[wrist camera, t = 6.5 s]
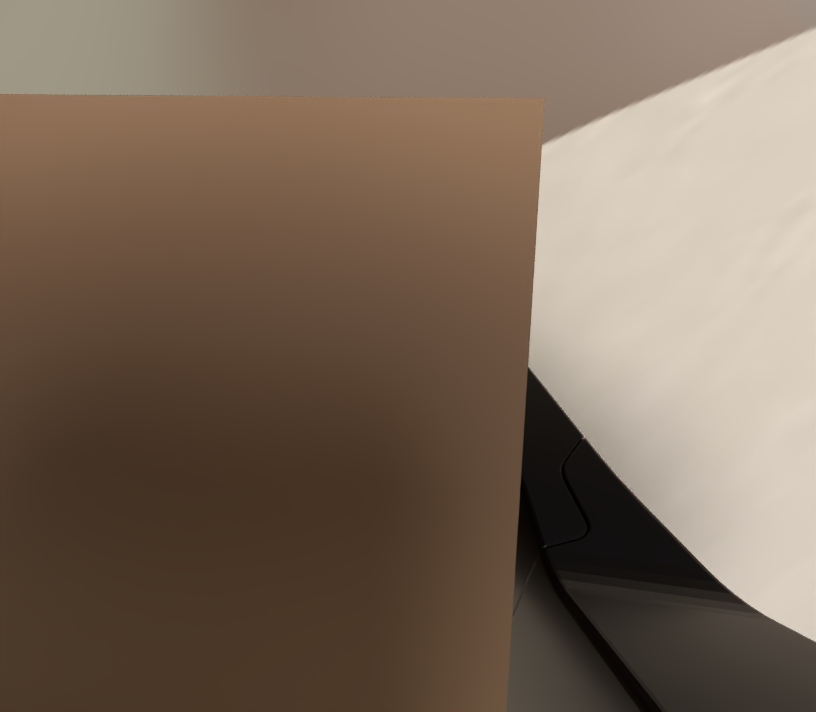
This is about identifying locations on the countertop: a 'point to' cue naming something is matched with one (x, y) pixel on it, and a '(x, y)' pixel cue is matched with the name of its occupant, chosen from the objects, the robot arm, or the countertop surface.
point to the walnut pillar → (262, 400)
